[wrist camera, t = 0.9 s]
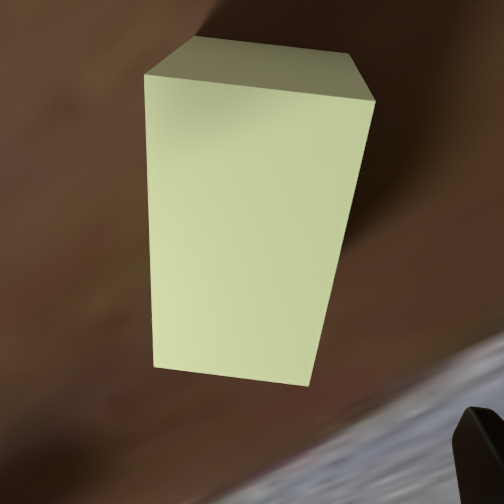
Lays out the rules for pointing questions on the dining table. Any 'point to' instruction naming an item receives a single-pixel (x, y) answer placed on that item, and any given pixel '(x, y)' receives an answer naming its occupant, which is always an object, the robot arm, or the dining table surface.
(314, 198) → the green block
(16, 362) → the dining table surface
